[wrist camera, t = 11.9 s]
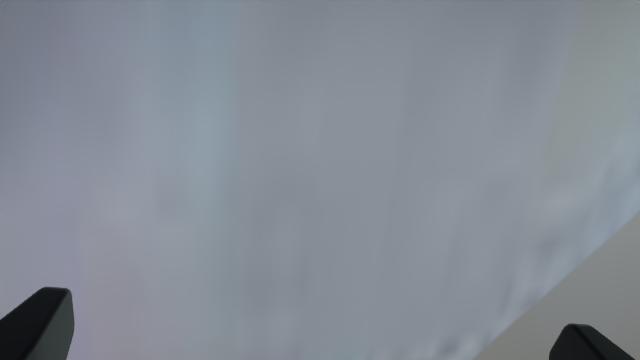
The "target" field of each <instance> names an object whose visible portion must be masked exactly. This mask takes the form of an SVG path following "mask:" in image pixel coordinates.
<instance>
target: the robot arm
mask: <svg viewBox="0 0 640 360" xmlns="http://www.w3.org/2000/svg"><path fill="white" fill-rule="evenodd" d="M73 333H74V313H73V303H72V294H71V292H70V290H69V289H67V288H58V287H43V288H41V289H40V290H38V291H37V292H36V293H34V294H33V295H32V296H30V297H29V298H28V299H27V300H25V301H24V302H23V303H21V304H20V305H19V306H17V307H16V308H15V309H14V310H12V311H11V312H10V313H8V314H7V315H6V316H5V317H3V318H2V319H1V320H0V360H66V358H67V355H68V351H69V348H70V344H71V341H72V337H73ZM549 360H635V359H634V358H632V357H631V356H630V355H629V354H627V353H626V352H624V351H623V350H622V349H621V348H619V347H618V346H617V345H615V344H614V343H613V342H611V341H610V340H609V339H608V338H606V337H605V336H604V335H602V334H601V333H600V332H598V331H597V330H596V329H594V328H593V327H591V326H589V325H585V324H568V325H566V326H565V327H564V328H563V330H562V332H561V333H560V335H559V337H558V339H557V341H556V342H555V344H554V345H553V347H552V349H551V351H550V354H549Z"/></svg>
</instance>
